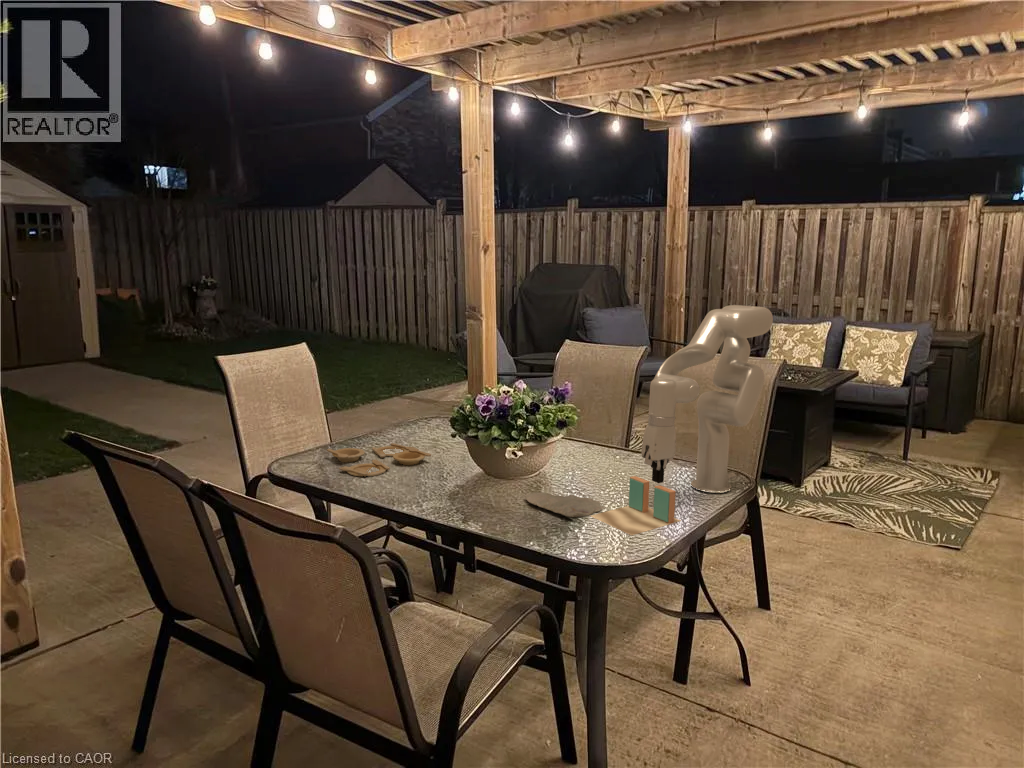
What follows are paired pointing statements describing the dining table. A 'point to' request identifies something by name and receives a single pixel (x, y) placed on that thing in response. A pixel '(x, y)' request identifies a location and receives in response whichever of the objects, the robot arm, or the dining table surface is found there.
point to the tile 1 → (639, 494)
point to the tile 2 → (664, 504)
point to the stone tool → (565, 504)
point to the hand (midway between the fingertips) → (657, 481)
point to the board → (631, 520)
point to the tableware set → (353, 454)
